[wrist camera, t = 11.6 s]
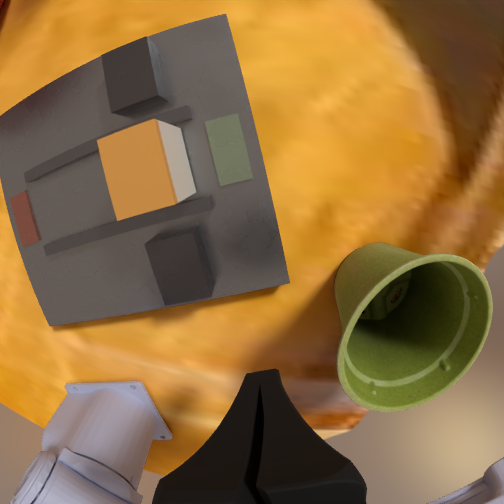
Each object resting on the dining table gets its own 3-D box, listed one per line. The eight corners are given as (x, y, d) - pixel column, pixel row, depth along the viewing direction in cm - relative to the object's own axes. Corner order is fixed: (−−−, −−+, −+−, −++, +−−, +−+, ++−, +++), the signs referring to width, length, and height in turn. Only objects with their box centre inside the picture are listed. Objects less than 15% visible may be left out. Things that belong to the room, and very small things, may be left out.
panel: (58, 318, 23) (37, 337, 20) (3, 122, 18) (-24, 121, 15) (287, 274, 22) (293, 296, 18) (227, 22, 17) (222, 0, 13)
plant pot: (287, 311, 22) (301, 392, 14) (350, 194, 20) (408, 219, 12) (384, 350, 23) (425, 421, 15) (445, 251, 21) (515, 296, 13)
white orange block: (150, 204, 18) (117, 220, 14) (135, 143, 17) (96, 140, 13) (196, 192, 18) (175, 204, 13) (180, 128, 17) (154, 118, 12)
